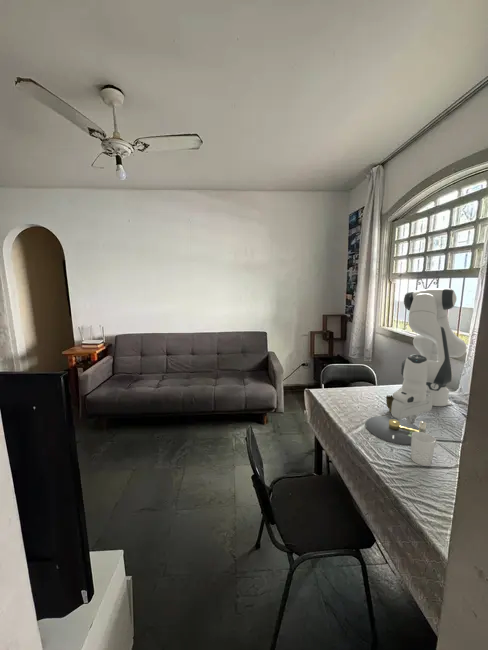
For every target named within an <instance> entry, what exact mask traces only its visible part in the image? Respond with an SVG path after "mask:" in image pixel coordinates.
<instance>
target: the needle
mask: <svg viewBox="0 0 488 650" xmlns="http://www.w3.org/2000/svg"><path fill="white" fill-rule="evenodd" d="M389 428H390V429H393V430H399V429H403V430H406V431H410V432H424V433H426V428H427V422H425V421H423V420H420V421H419V425H418V428H419V430H415V429H411V428H407V427H404V426H400V422H399V421H397V420H394V419H390V420H389Z"/></svg>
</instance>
